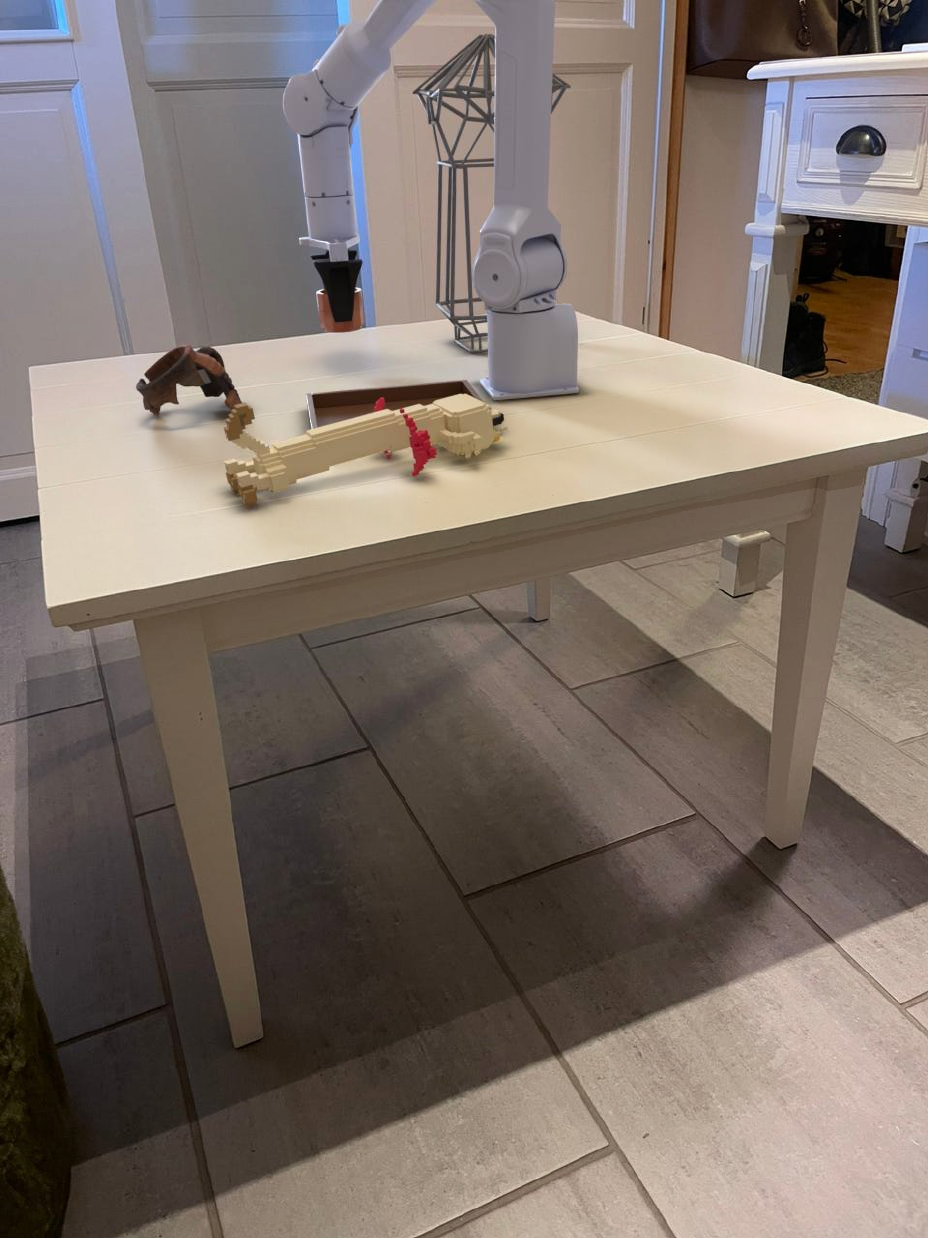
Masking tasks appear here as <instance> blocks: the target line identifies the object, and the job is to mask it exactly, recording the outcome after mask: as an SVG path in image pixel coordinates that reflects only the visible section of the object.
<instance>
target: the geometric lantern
mask: <svg viewBox="0 0 928 1238" xmlns="http://www.w3.org/2000/svg"><path fill="white" fill-rule="evenodd" d="M490 53H491V55H492V57H493V59H494V61H495V34H493V33H484V34H482V33H481V34H478V35H477V36H476V37H475V38H474V39H472V40H471V41H470V42H468V44H466V46H464V47H463V48H462V49H461V50H460V51H458V52H457V53H456V54H455V55H454V56H453V57H451V58H450V59H449V60H448V61H447V62H445V64H443V65H442V66H441V67H440V68H438V70H436V71H434V73H433V74H432V75H431V76H429V77H428V78H427V79H426V80H424V81H423V82H422V83H421V84H420V85H419V86H417V87H416V88H415V89H414V90H413V91H412V95H416V96H417V97H418V99H419V101H420V103H421V105H422V107H423V109H424V112H425V114H426V115H427V124H428V125H431V127H432V132H433V138H434V142H435V143H434V144H435V149H436V154H437V158H438V159H437V161H436V164H437V204H436V205H437V207H436V209H437V210H436V211H437V213H436V215H437V216H436V217H437V218H436V267H435V268H436V271H435V272H436V273H435V274H436V275H435V307H436V308H438V309H439V311H440V312H441V313H442V314H443V315H444V316H445V317H446V318H447V319H448V320H449V322H450V323H451V324H452V325H453V328H454V343H455V344H457V345H458V346H459V347H461V348H463V349H464V350H466V351H467V352H468V353H470V354H482V353H483V354H484V353H488V348H486V349H483V345H482V338H484V337H485V338H486V337H488V332H479V329H478V326H477V324H485V323H486V324H487V314H482V315H479V314H478V315H474V303H479V302H483V301H482V300H481V299H480V297H479V296H478V297H473V280H472V250H471V249H472V248H471V225H470V202H469V201H470V200H469V198H470V197H469V172H468V171H469V170H468V169H469V168H494V157H490V158H488V157H487V158H472V159H469V156H470V155H471V153H472V152H473V149H474V147H475V146H476V144H477V143H478V142H479V140H480V138H481V136H482V134H483V133H484V131H485V129H486V128H487V126H489V128H490V129H491V131H492V133H494V126H493V125H494V121H495V110H494V111H493V112H492V99H493V97H495V90H493V85H492V73H491V56H490ZM482 58H483V75H482V76H483V77H482V79H483V81H482V82H483V84H482V85H483V87H477V86H474V83H475V79H476V77H477V73H478V70H479V68H480V64H481V62H482V61H481V60H482ZM473 63H474V65H473ZM472 65H473V69H472V71H471V75H470V78H469V80H468V81H469V82H468V85H462V84H460V83H461V82H462V81H463V78H464V77H465V75H466V74H467V73H468V71H469V69H470V68H471V66H472ZM464 68H465V69H464ZM463 69H464V71H463V72H462V74H461V75H460V76H459V78H458V80H457V81H456V83H455V84H454V86H453V87H451V88H450V87H449V88H448V86H449V85H450V84H451V83H452V82H453V80H454V79H455V78H456V77H457V76H458V75H459V74H460V72H461V71H462V70H463ZM433 78H434V79H433ZM424 86H425V87H424ZM433 87H435V88H434V89H432V88H433ZM571 87H572V86H571V85H570V84H569V83H567V81H565V80H563V79H562V78H561V77H559V76H558V75H556V74H554V73H553V74H552V97H554V95H553V94H554V93H556V92H557V91H558V93H557V95H556V96H555V98H554V99H553V100H552V101H551V115H552V114H553V112H554V111H555V109H556V108H557V106H558V104H559V102H560V100H561V98H562V97H563V95H564V93H565V92H566V90H567V89H571ZM431 89H432V90H431ZM424 96H426V97H424ZM443 98H452V99H460V100H463V101H464V102H465V113H464V112H462V111H461V110H459V109H457V108H455V107H454V106H452V105H450V104H449V103H448V102H447V101H444V100H443ZM472 99H486V107H487V110H486V111H484V110H483V108H481V107H480V106H479V105H478V104H477V103H476V102H475V101H473V100H472ZM433 101H434V102H435V103H436V109H435V110H434V104H433ZM442 107H444V108H445V109H446V110H448V111H450V113H451V112H452V113H453V114H455V115H456V116H457V117H460V118H461V119H462V121H461V123H460V126H459V129H458V132H457V135H456V137H455V139H454V142H453V144H452V148H450V145H449V143H448V141H447V138H446V135H445V132H444V129H443V128H442V124H441V122H440V119H441V111H442ZM470 107H471V108H472V109H473V110H474V111H476V112H477V114H479V115H480V116H481V117H479V116H469V111H470V110H469V109H470ZM467 122H472V123H481V124H482V123H483V126H482V127H481V128H480V130H479V132H478V134H477V135H476V137H475V139H474V141H473V143H472V144H471V146H470V147H469V149H468V151H467V152H466V155H465V156H464V158H463V159H455V158H454V156H455V153H456V150H457V147H458V145H459V142H460V139H461V136H462V134H463V131H464V130H465V129H464V128H465V126H466V125H467ZM436 129H437V131H438V134H439V136H440V139H441V141H442V144H443V147H444V149H445V151H446V154H447V157H448V159H447V160H442V157H441V152H440V147H439V142H438V136H437V131H436ZM443 167H448V168H447V205H446V243H445V244H446V250H445V252H446V253H445V293H444V294H445V297H444V300H441V263H442V257H441V256H442V215H443V214H442V210H443V204H442V203H443ZM457 169H458V170H462V181H463V182H462V184H463V205H464V207H463V209H464V233H465V252H466V254H465V255H466V278H467V279H466V280H467V281H466V282H467V295H468V296H467V298H457V299H455V294H456V293H455V291H456V289H455V286H456V284H455V283H456V238H457V236H456V233H457V231H456V230H457ZM455 304H468V315H455ZM444 306H446V308H445V307H444ZM460 321H464V322H460ZM470 325H472V327H473V329H474V333H472V332H471V331H470V330H469V329H467V328H466V327H465V326H470ZM461 332H464V333H465V334H467V335H466V336H461ZM469 339H470V347H468V346H467V345H465V344H463V343H462V342H460V341H463V340H469ZM474 339H478V349H475V341H474ZM474 349H475V350H474Z"/></svg>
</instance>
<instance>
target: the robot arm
mask: <svg viewBox="0 0 928 1238" xmlns="http://www.w3.org/2000/svg"><path fill="white" fill-rule="evenodd" d="M555 1H556V0H473V2H474V3H475V4H476V5H477V6H478V7H479V9H481V11H483V13H484V14H485V15H486V16H487V17H488V19H490V21H491V22H492V23H493V24H494V29H495V30H494V31H495V32H494V33H495V34H494V35H495V60H494V91H495V96H494V111H495V118H494V119H495V121H494V124H493V125H494V126H493V128H494V132H493V134H494V135H493V158H494V161H493V163H494V167H493V208H492V209H491V212H490V213H489V215H488V216H487V219H486V220H485V222H484V223H483V226H482V227H481V229H480V231H479V247H478V251H477V254H476V256H475V258H474V260H473V264H472V267H471V272H472V286H473V287H474V290H475V293H476V294H477V296H478V297H480V299H481V300H482V301H481V302H483V304H484V310H485V311H486V315H487V322H486V325H487V326H486V327H487V333H488V336H487V349H488V352H487V361H488V366H487V367H488V377H483V378H480V379H479V384H480V385H481V386H482V388H484V390H485V391H486V392H487V393H488V395H489V396H490V397H491V398H492V400H494V401H503V400H511V399H512V400H513V399H525V398H526V399H527V398H535V397H544V396H545V397H547V396H558V395H568V394H578V393H579V392H580V388H579V387H578V362H579V361H578V360H579V359H578V355H579V354H578V353H579V352H578V351H579V326H578V318H577V315H576V311H575V309H574V307H573V305H571V304H570V303H556V302H557V291H558V290H559V289H560V288H561V286H563V284H564V282H565V279H566V277H567V272H568V258H567V254H566V252H565V249H564V246H563V242H562V224H561V222H560V221H559V219H558V218H557V217H556V216H555V214H554V213H553V212H552V211H551V209H550V208H549V183H550V182H549V181H550V180H549V179H550V152H551V123H552V114H551V101H552V102H553V96H552V74H554V70H553V69H554V66H553V65H554V47H555V45H554V44H555V43H554V42H555V20H556V19H555V15H556V2H555ZM436 2H437V0H378V2H377V3H376V4H375V6H374V8H373V9H372V10H371V12H370V14H369V15H368V16H367V18H366V20H365V21H362V20H352V21H349V22H348V23H341V24H340V25H339V26H338V28H337V29H336V31H335V34H336V36H337V37H336V38H335V39H334V41H333V42H332V43H331V44H330V46H329V48H327V50H326V51H325V53H324V54H323V55H322V56H321V58H317V59H316V60H315V61H314V63H313V64H312V67H313V68H312V69H311V70H309V71H308V72H307V73H296V74H294V75H292V76H291V77H289V80H288V83H287V84H286V86H285V89H284V92H283V96H282V109H283V114H284V117H285V120H286V122H287V124H288V126H289V127H290V128H291V130H292V131H294V133H296V134H297V142H298V150H299V158H300V168H301V177H302V186H303V196H304V202H305V204H304V205H305V214H306V223H307V230H308V231H307V233H308V236H303V237H299V238H298V241H299V245H300V246H309V247H312V248H313V247H314V248H318V249H322V250H323V252H314V253H310V255H309V256H310V258H311V260H312V264H313V266H314V268H315V269H316V271H317V273H318V275H319V278H320V279H321V282H322V286H323V289H326V293H327V297H328V301H329V305H330V309H331V312H332V315H333V318H334V321H335V322H349V321H352V319H353V312H354V298H355V288H357V283H358V282H357V281H358V278H359V275H360V272H361V269H362V266H363V263H364V261H363V260H362V258H358V259H357V255H358V250H357V249H355V248H351V247H353V246H355V245H357V244H359V243H360V242H361V240H360V239H361V238H360V237H361V236H360V234H358V223H357V222H358V221H357V214H356V213H357V212H356V201H355V191H354V188H355V187H354V178H353V167H352V157H351V149H352V145H353V144H354V138H353V137H354V136H353V130H354V127H355V125H356V122H357V119H358V115H359V105H360V103H362V101H363V100H364V99H365V98H366V96H367V95H368V94H369V93H370V92H371V91H372V90H373V88H374V87H375V86H376V85H377V84H378V82H379V81H380V80H381V79H382V78H383V76H384V75H385V74H386V73H387V72H388V71H389V70H390V67H391V64H392V56H391V55H392V54H391V49H392V47H394V46H395V44H396V43H397V42H398V41H399V40H400V39H401V38H402V37H403V36H404V35H405V34H406V33H407V32H408V31H409V30H410V29H411V28H412V27H413V26H414V24H416V23H417V21H419V20H420V19H421V17H422V16H423V15H424V14H425V13H426V12H427V11H428V10H429V9H430V8H431V7H432V6H433V5H434V4H435V3H436Z"/></svg>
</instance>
